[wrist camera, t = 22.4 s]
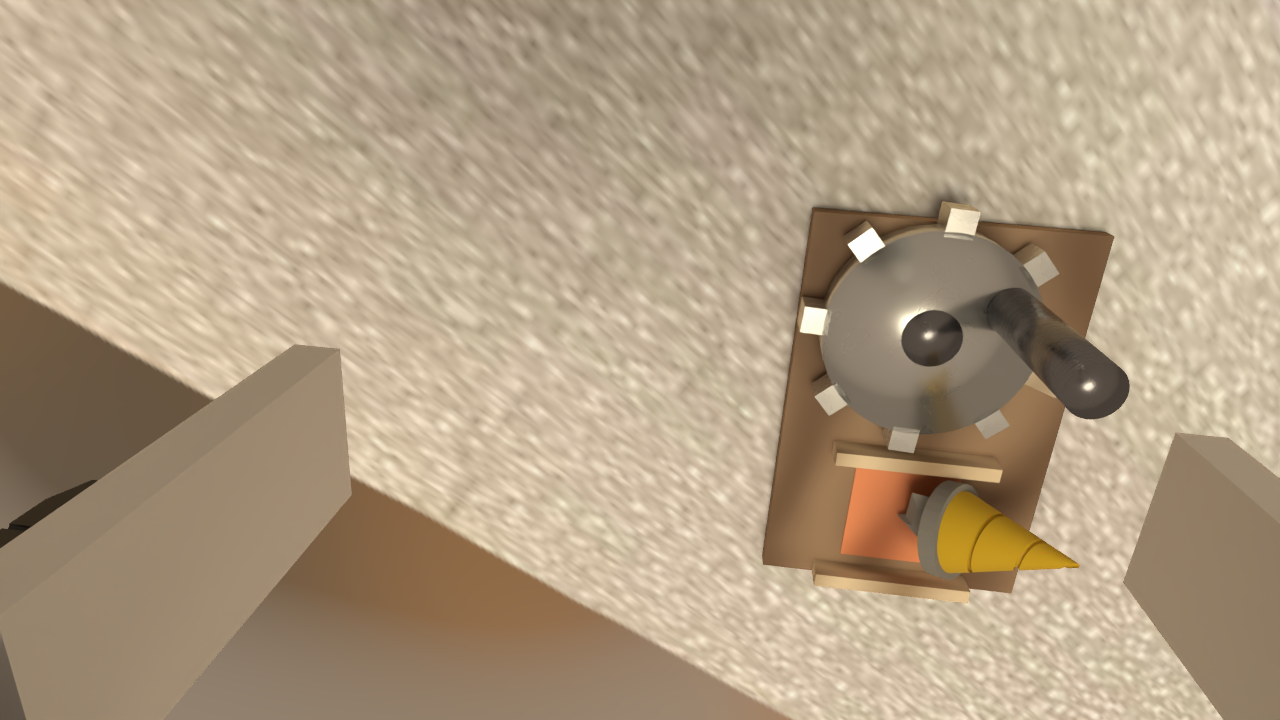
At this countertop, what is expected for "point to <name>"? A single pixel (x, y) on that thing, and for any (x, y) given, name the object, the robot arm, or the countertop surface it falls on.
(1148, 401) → the countertop surface
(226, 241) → the countertop surface
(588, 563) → the countertop surface
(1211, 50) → the countertop surface
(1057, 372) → the sprocket
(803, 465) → the brown wooden board
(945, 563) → the drill bit
